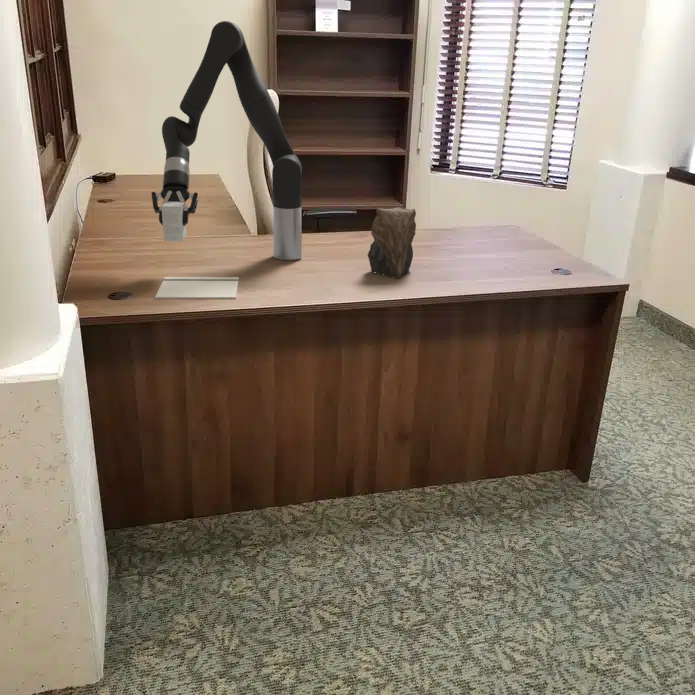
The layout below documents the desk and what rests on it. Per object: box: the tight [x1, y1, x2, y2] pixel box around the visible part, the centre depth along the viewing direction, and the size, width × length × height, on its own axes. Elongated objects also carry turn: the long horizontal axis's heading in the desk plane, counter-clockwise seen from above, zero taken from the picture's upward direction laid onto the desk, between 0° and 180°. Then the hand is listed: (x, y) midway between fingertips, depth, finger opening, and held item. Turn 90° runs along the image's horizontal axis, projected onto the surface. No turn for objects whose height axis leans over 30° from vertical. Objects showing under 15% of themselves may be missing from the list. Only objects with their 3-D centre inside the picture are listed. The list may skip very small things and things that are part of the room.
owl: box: [367, 206, 417, 280], centre depth 217 cm, size 13×13×20 cm
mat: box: [154, 276, 240, 300], centre depth 198 cm, size 22×18×1 cm
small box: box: [161, 201, 187, 243], centre depth 204 cm, size 8×6×10 cm
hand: (173, 223), depth 202 cm, fingers closed on small box, 5 cm apart
